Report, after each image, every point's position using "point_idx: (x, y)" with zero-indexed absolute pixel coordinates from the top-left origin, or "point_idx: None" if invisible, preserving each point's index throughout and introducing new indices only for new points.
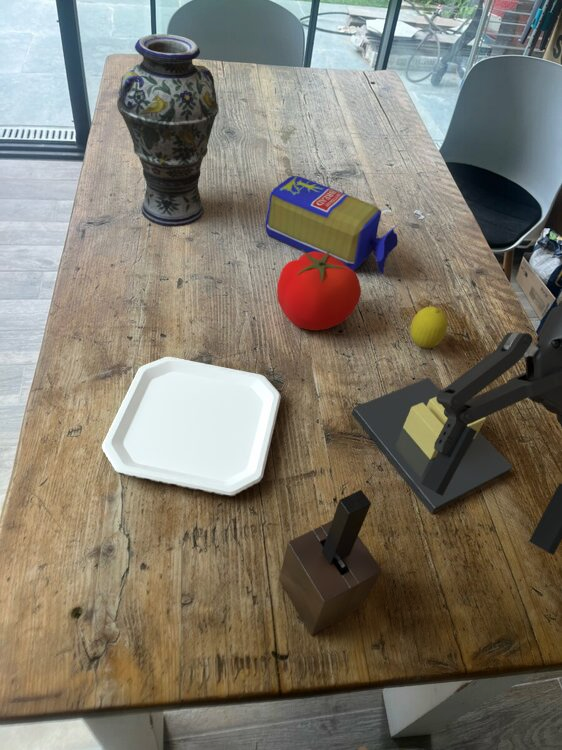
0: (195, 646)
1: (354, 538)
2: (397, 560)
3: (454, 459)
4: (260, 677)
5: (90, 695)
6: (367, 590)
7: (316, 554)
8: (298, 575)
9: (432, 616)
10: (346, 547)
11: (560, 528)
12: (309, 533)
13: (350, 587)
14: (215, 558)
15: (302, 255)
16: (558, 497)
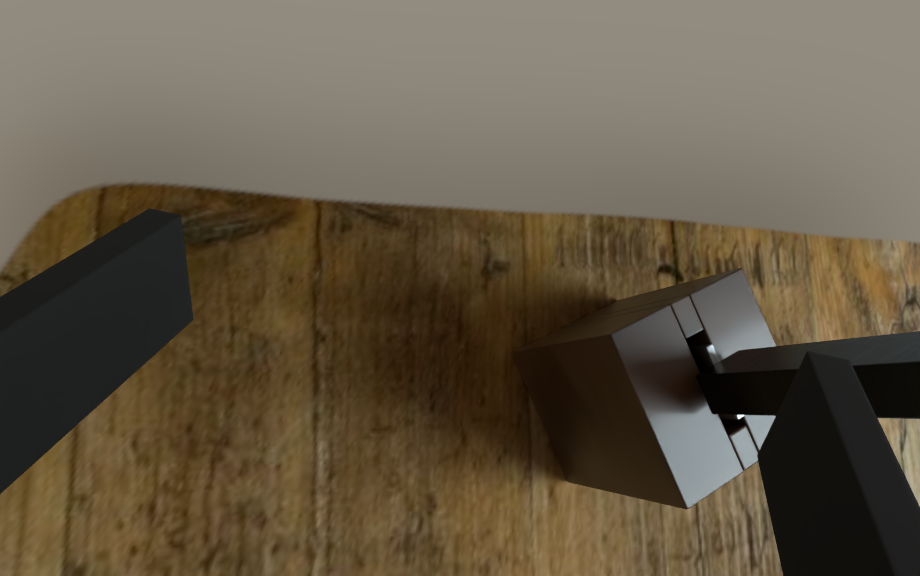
0: (793, 304)
1: (782, 366)
2: (410, 462)
3: (909, 493)
4: (700, 241)
5: (905, 251)
6: (577, 334)
7: None
8: None
9: (359, 315)
10: (766, 359)
11: (95, 269)
12: None
13: (687, 297)
14: None
15: None
16: (6, 445)
